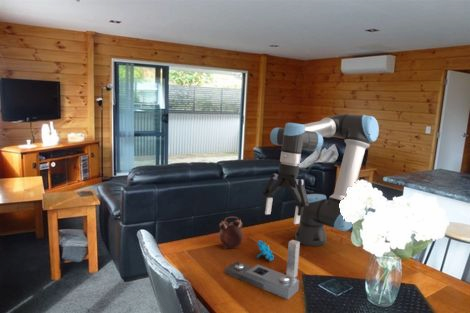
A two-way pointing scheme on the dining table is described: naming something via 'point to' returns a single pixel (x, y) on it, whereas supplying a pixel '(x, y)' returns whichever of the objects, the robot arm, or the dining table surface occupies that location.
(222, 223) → the alarm clock
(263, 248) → the blue bumpy figurine
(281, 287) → the grey studded bar
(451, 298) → the dining table surface
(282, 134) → the robot arm
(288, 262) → the steel pin
